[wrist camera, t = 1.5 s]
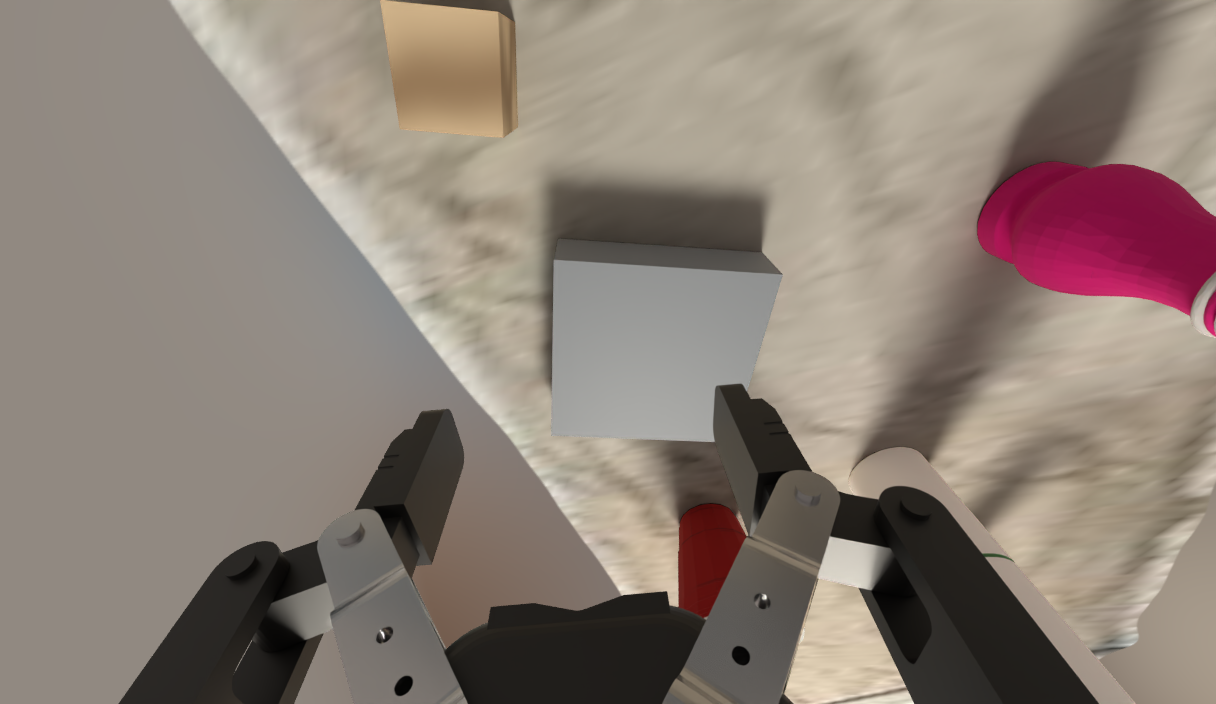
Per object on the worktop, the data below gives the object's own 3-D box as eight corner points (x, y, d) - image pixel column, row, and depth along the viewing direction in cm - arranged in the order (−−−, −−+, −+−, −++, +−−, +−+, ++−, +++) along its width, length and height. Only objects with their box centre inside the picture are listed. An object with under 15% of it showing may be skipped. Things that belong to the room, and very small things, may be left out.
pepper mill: (944, 243, 31) (1376, 453, 14) (1029, 134, 27) (1752, 236, 10) (1022, 276, 32) (1499, 501, 15) (1112, 176, 29) (1867, 327, 12)
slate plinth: (558, 238, 30) (553, 259, 26) (761, 252, 31) (782, 274, 27) (555, 402, 37) (551, 435, 34) (719, 409, 38) (731, 442, 35)
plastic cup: (674, 563, 50) (694, 689, 40) (640, 505, 44) (654, 633, 34) (770, 538, 48) (817, 663, 38) (746, 474, 42) (795, 600, 32)
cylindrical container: (833, 485, 44) (1059, 874, 22) (889, 436, 40) (1215, 839, 19) (884, 506, 46) (1136, 884, 24) (941, 462, 42) (1290, 853, 21)
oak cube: (419, 12, 23) (380, 0, 19) (515, 22, 24) (498, 11, 19) (431, 120, 26) (399, 129, 22) (518, 127, 26) (503, 137, 22)
